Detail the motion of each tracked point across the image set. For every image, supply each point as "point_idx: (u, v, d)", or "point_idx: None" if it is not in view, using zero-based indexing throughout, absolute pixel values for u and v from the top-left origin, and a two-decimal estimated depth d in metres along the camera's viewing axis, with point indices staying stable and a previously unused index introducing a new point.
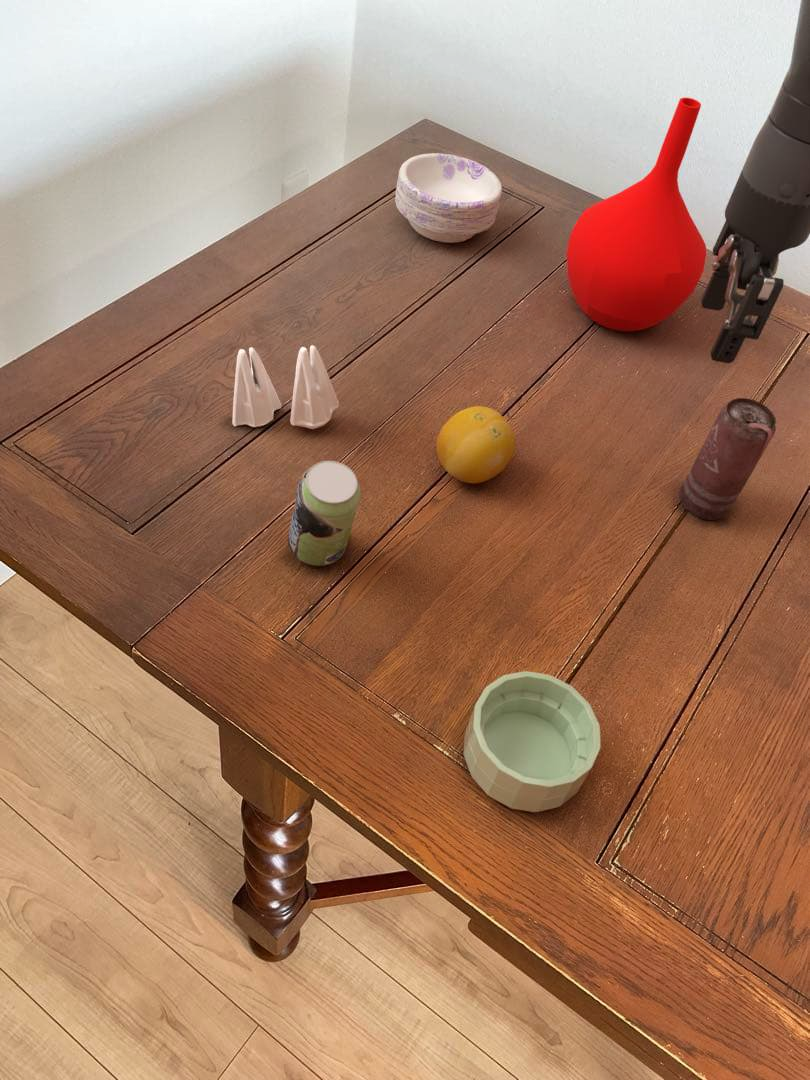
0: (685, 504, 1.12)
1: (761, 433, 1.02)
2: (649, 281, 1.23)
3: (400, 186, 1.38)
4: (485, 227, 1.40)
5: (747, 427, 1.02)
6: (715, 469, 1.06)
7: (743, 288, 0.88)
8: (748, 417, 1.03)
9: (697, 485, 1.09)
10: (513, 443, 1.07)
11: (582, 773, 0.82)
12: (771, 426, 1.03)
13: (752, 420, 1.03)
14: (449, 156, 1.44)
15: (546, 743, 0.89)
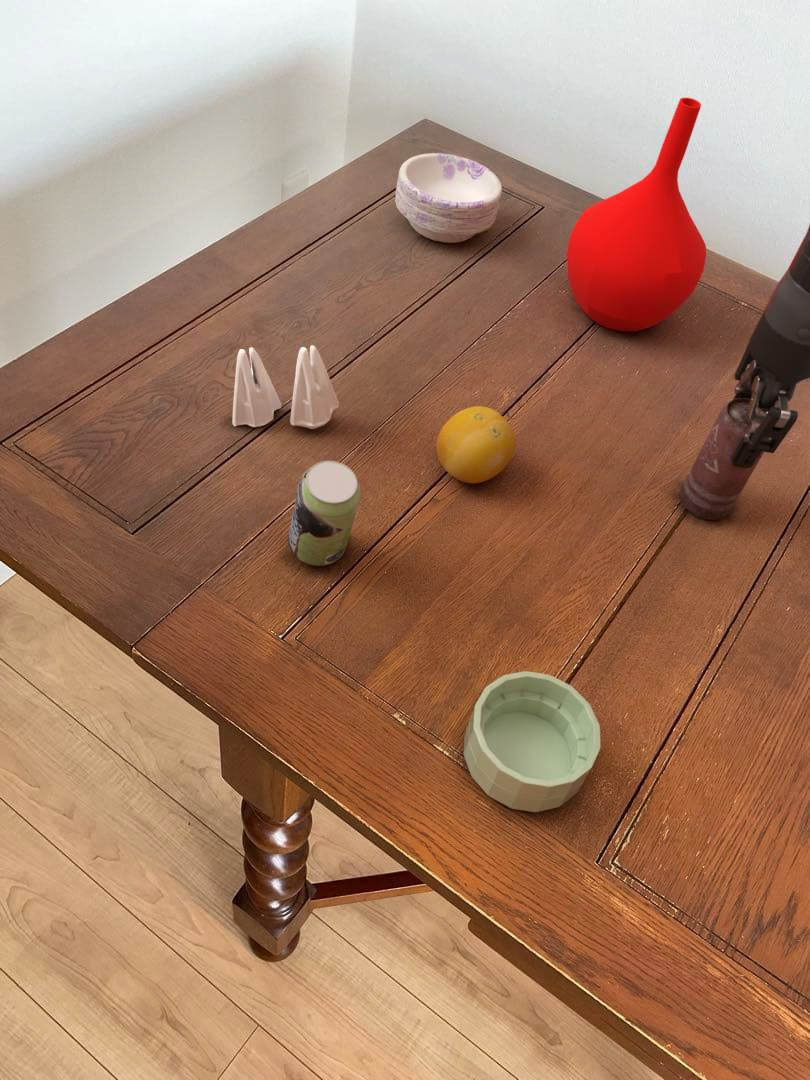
0: (685, 504, 1.12)
1: None
2: (649, 281, 1.23)
3: (400, 186, 1.38)
4: (485, 227, 1.40)
5: None
6: (715, 469, 1.06)
7: (764, 408, 0.99)
8: None
9: (698, 485, 1.09)
10: (513, 443, 1.07)
11: (582, 773, 0.82)
12: None
13: None
14: (449, 156, 1.44)
15: (546, 743, 0.89)
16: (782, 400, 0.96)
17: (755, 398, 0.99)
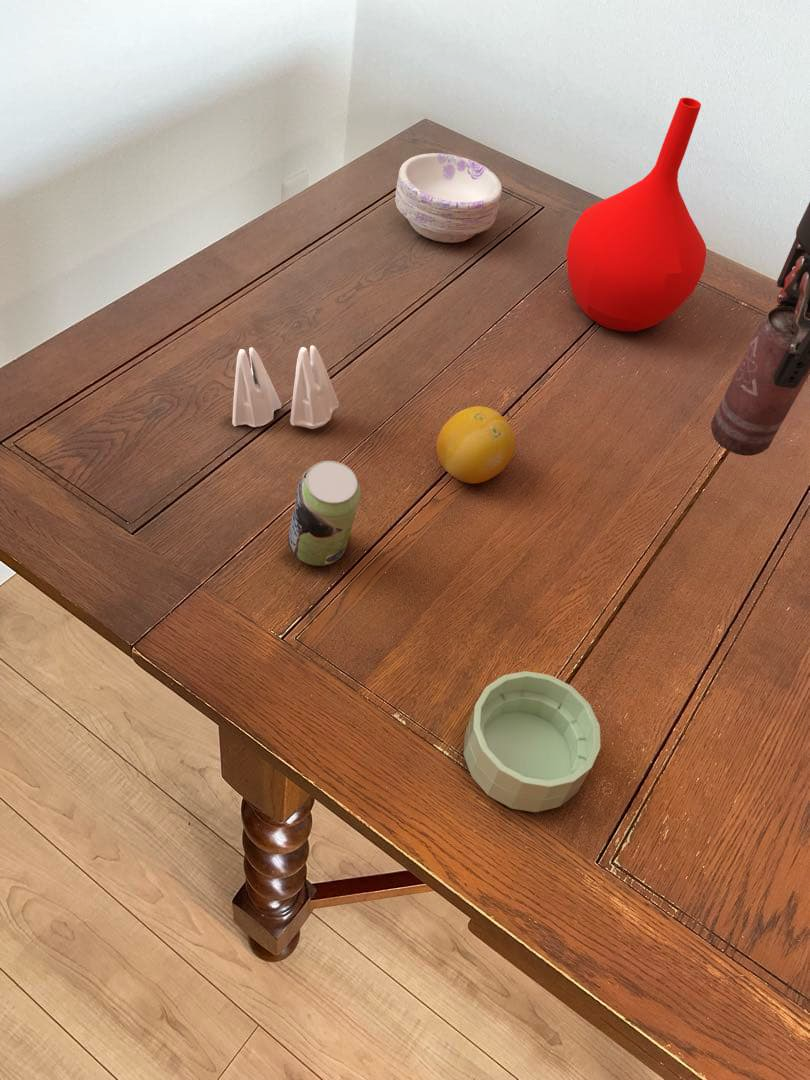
0: (717, 437, 0.96)
1: None
2: (649, 281, 1.23)
3: (400, 186, 1.38)
4: (485, 227, 1.40)
5: None
6: (753, 391, 0.90)
7: None
8: (794, 327, 0.88)
9: (732, 413, 0.93)
10: (513, 443, 1.07)
11: (582, 773, 0.82)
12: None
13: None
14: (449, 156, 1.44)
15: (546, 743, 0.89)
16: None
17: (803, 299, 0.83)
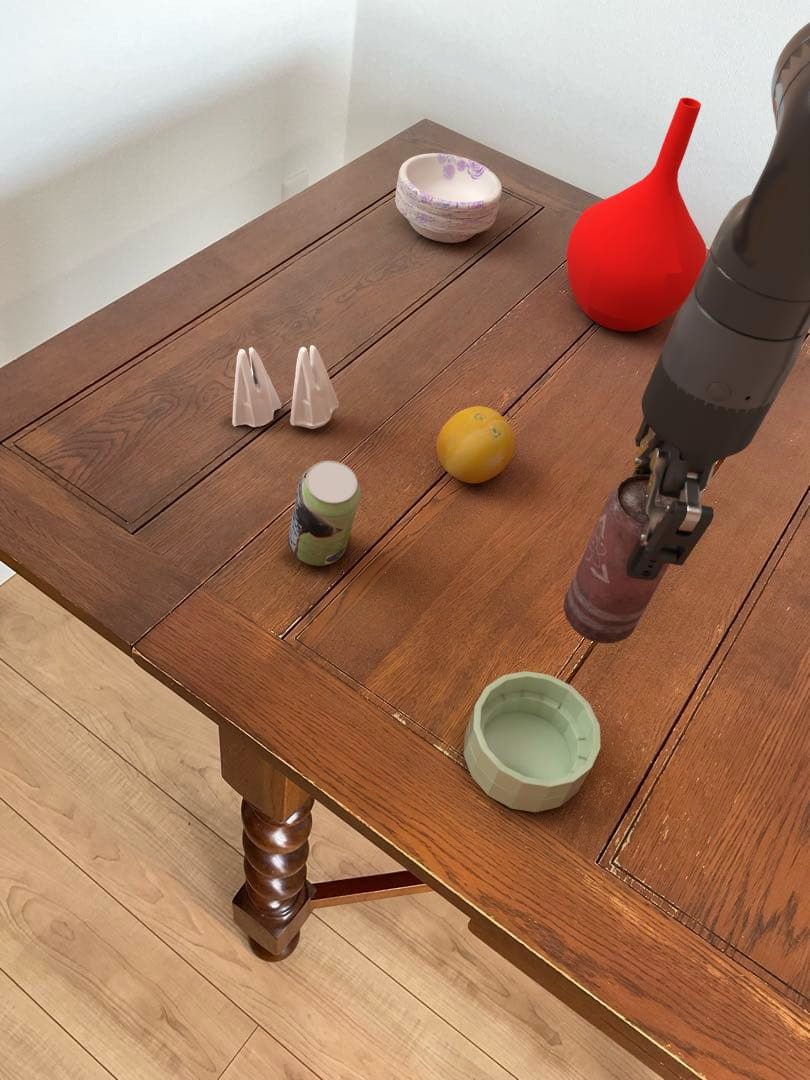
0: (569, 620, 0.78)
1: None
2: (649, 281, 1.23)
3: (400, 186, 1.38)
4: (485, 227, 1.40)
5: None
6: (604, 577, 0.72)
7: (669, 496, 0.65)
8: None
9: (583, 597, 0.75)
10: (513, 443, 1.07)
11: (582, 773, 0.82)
12: None
13: None
14: (449, 156, 1.44)
15: (546, 743, 0.89)
16: (690, 489, 0.61)
17: (654, 482, 0.65)
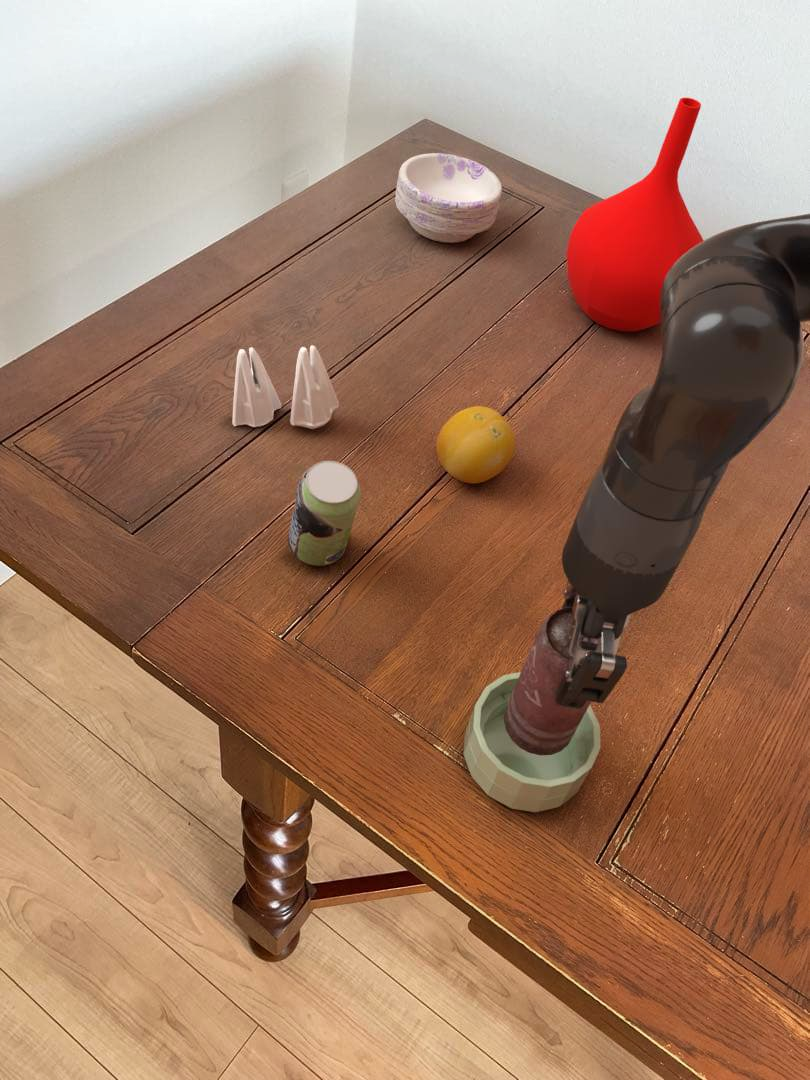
0: (509, 733, 0.82)
1: None
2: (649, 281, 1.23)
3: (400, 186, 1.38)
4: (485, 227, 1.40)
5: None
6: (537, 701, 0.77)
7: None
8: None
9: (520, 716, 0.80)
10: (513, 443, 1.07)
11: (582, 773, 0.82)
12: None
13: None
14: (449, 156, 1.44)
15: None
16: (606, 639, 0.66)
17: (575, 626, 0.69)
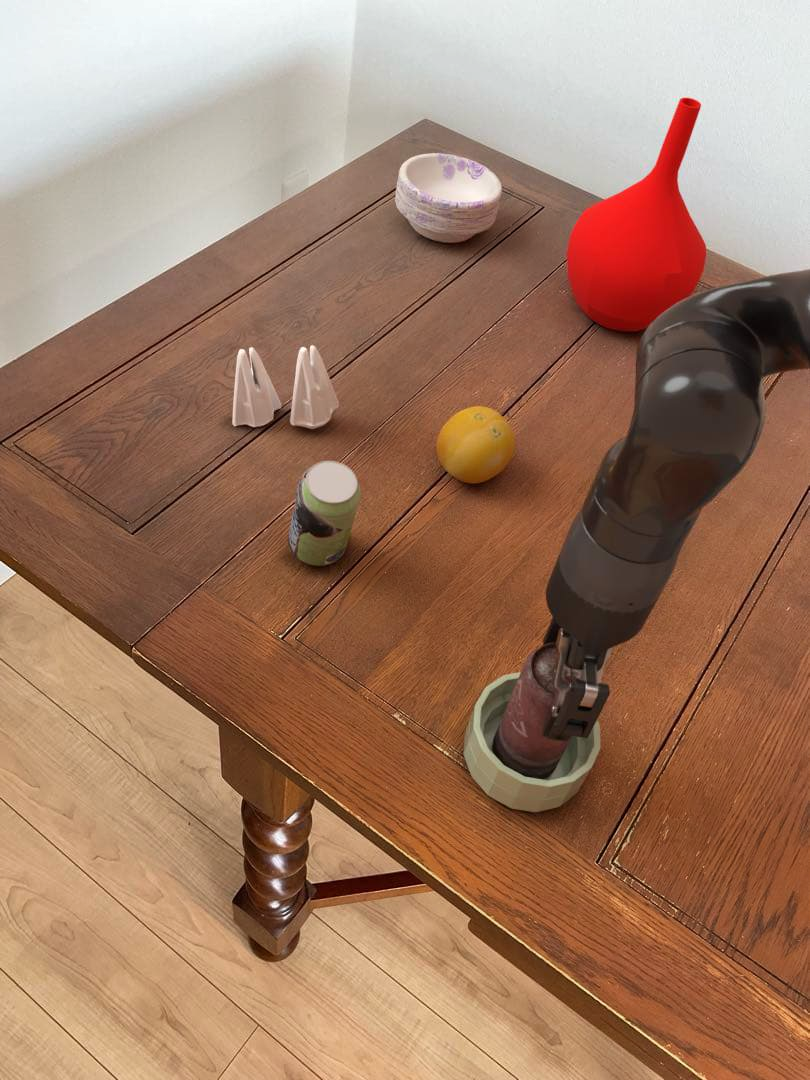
0: None
1: None
2: (649, 281, 1.23)
3: (400, 186, 1.38)
4: (485, 227, 1.40)
5: None
6: (523, 732, 0.80)
7: None
8: None
9: (507, 745, 0.83)
10: (513, 443, 1.07)
11: (582, 773, 0.82)
12: None
13: None
14: (449, 156, 1.44)
15: None
16: (589, 669, 0.69)
17: (559, 658, 0.72)
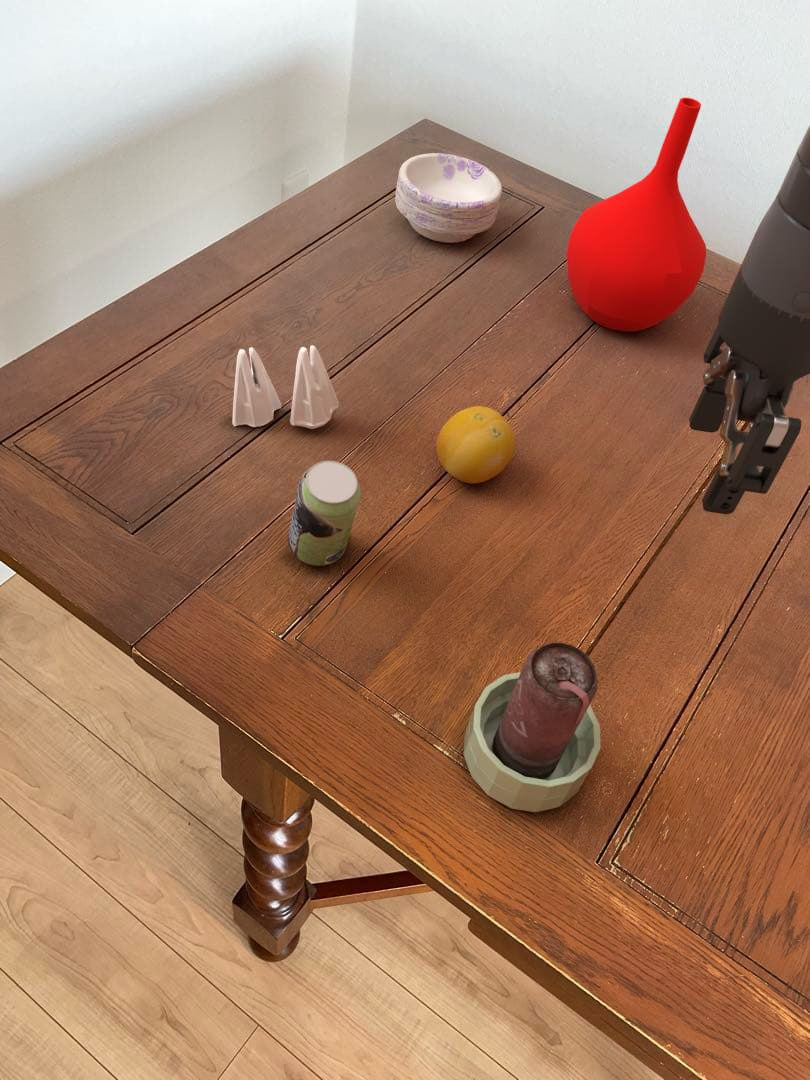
0: None
1: (573, 700, 0.76)
2: (649, 281, 1.23)
3: (400, 186, 1.38)
4: (485, 227, 1.40)
5: (556, 690, 0.76)
6: (523, 732, 0.80)
7: (745, 420, 0.64)
8: (560, 673, 0.78)
9: (507, 745, 0.83)
10: (513, 443, 1.07)
11: (582, 773, 0.82)
12: (590, 686, 0.77)
13: (565, 678, 0.77)
14: (449, 156, 1.44)
15: None
16: (774, 404, 0.60)
17: (730, 405, 0.63)
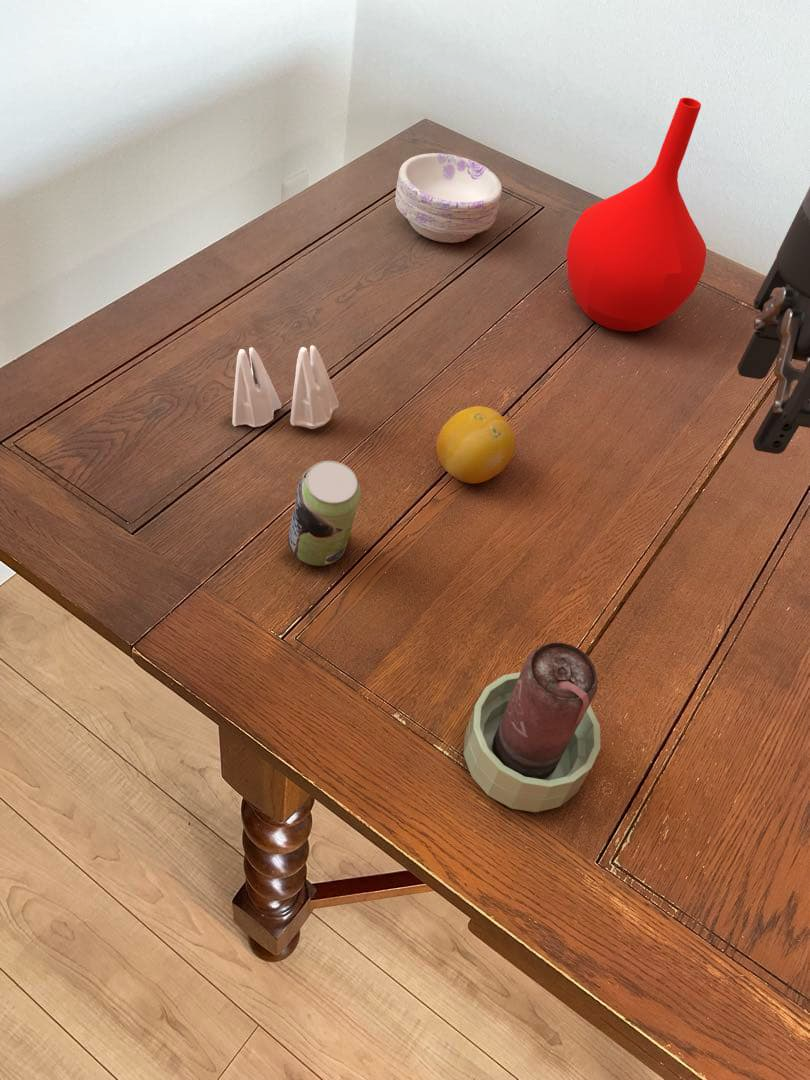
0: None
1: (573, 700, 0.76)
2: (649, 281, 1.23)
3: (400, 186, 1.38)
4: (485, 227, 1.40)
5: (556, 690, 0.76)
6: (523, 732, 0.80)
7: (799, 359, 0.66)
8: (560, 673, 0.78)
9: (507, 745, 0.83)
10: (513, 443, 1.07)
11: (582, 773, 0.82)
12: (590, 686, 0.77)
13: (565, 678, 0.77)
14: (449, 156, 1.44)
15: None
16: None
17: (786, 343, 0.65)
